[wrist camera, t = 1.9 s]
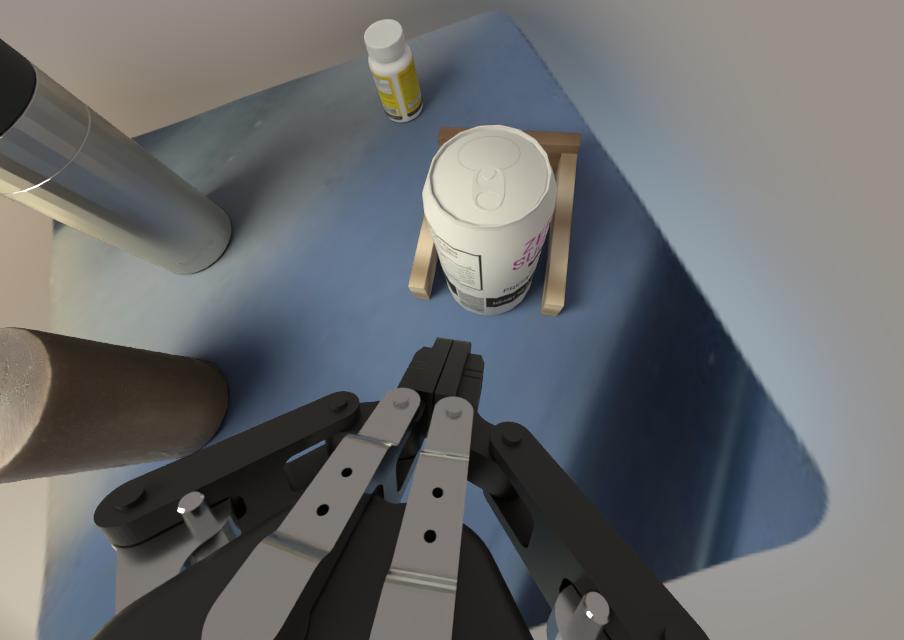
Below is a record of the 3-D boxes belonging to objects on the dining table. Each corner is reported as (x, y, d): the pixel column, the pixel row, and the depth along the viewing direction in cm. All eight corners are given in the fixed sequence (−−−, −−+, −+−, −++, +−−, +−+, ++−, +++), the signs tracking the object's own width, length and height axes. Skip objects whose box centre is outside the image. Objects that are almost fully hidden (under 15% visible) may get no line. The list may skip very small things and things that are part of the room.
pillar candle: (223, 346, 34) (27, 296, 20) (235, 440, 31) (15, 461, 17) (138, 378, 34) (-118, 352, 20) (141, 475, 31) (-156, 525, 17)
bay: (556, 316, 31) (566, 302, 27) (415, 297, 33) (405, 282, 29) (571, 163, 36) (581, 133, 32) (445, 156, 38) (440, 127, 34)
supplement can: (450, 243, 34) (422, 121, 20) (529, 242, 34) (560, 113, 19) (446, 316, 32) (411, 238, 18) (531, 318, 31) (566, 236, 17)
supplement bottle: (421, 90, 41) (404, 11, 33) (425, 119, 40) (409, 44, 32) (383, 98, 41) (358, 22, 33) (387, 127, 40) (361, 54, 32)
